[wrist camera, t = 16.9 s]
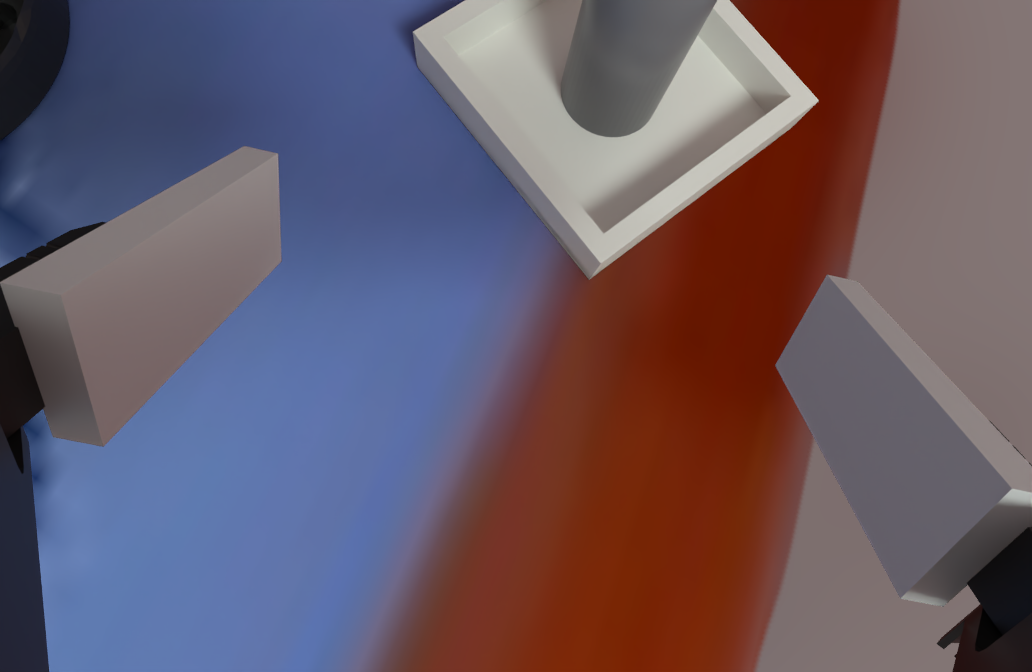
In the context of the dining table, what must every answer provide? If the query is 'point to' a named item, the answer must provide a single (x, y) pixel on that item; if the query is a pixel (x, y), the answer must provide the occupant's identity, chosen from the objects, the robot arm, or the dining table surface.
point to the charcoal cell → (627, 60)
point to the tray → (597, 159)
